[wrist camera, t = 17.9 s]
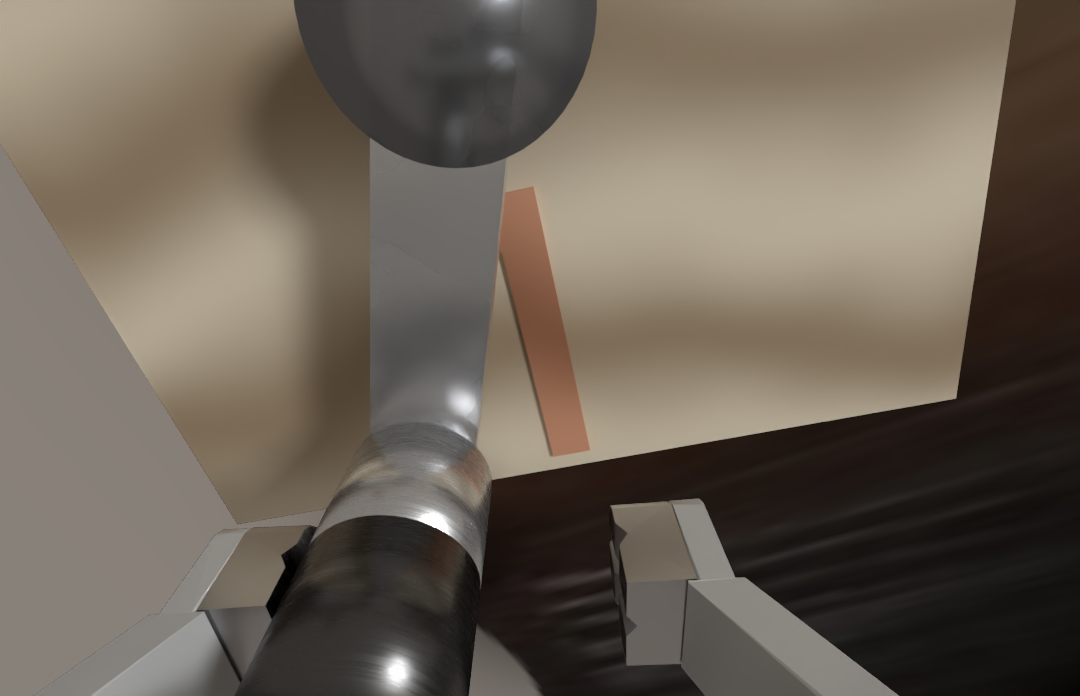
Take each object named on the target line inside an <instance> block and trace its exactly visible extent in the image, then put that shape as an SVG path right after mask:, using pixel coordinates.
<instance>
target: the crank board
mask: <svg viewBox="0 0 1080 696" xmlns="http://www.w3.org/2000/svg"><path fill="white" fill-rule="evenodd" d="M1015 3H1016V0H597V16H596V25H595V35H594V40H593V44H592V49H591V53H590V57H589V60H588V63H587V66H586V69H585V72H584V75H583V77H582V80H581V82H580V84H579V86H578V88H577V90H576V92H575V94H574V96H573V97H572V99H571V101H570V102H569V104H568V105H567V107H566V108H565V110H564V112H563V113H562V114H561V115H560V116H559V118H558V119H557V120H556V121H555V122H554V124H553V125H552V126H551V127H550V128H549V129H548V130H547V131H546V132H545V133H544V134H543V135H541V136H540V137H539V138H538V139H537V140H536V141H534V142H533V143H531V144H530V145H529V146H527V147H526V148H524V149H523V150H521V151H519V152H517V153H515V154H513V155H511V156H509V165H508V175H507V184H506V193H505V202H504V212H503V221H502V230H501V239H500V249H499V258H498V267H497V276H496V285H495V295H494V304H493V313H492V322H491V332H490V341H489V350H488V359H487V369H486V378H485V387H484V396H483V405H482V415H481V424H480V433H479V442H478V450H479V451H480V452H481V453H482V455H483V456H484V458H485V459H486V461H487V463H488V466H489V468H490V472H491V477H492V480H493V479H499V478H505V477H511V476H516V475H522V474H528V473H533V472H539V471H545V470H550V469H556V468H562V467H568V466H573V465H579V464H585V463H590V462H596V461H602V460H608V459H613V458H619V457H625V456H630V455H636V454H642V453H647V452H653V451H659V450H665V449H670V448H676V447H682V446H687V445H693V444H699V443H705V442H710V441H716V440H722V439H727V438H733V437H739V436H745V435H750V434H756V433H762V432H767V431H773V430H779V429H784V428H790V427H796V426H802V425H807V424H813V423H819V422H824V421H830V420H836V419H842V418H847V417H853V416H859V415H864V414H870V413H876V412H881V411H887V410H893V409H899V408H904V407H910V406H916V405H921V404H927V403H933V402H939V401H944V400H950V399H956V394H957V388H958V381H959V375H960V368H961V361H962V355H963V348H964V341H965V335H966V328H967V321H968V315H969V308H970V302H971V295H972V288H973V282H974V275H975V268H976V262H977V255H978V249H979V242H980V235H981V229H982V222H983V215H984V209H985V202H986V196H987V189H988V182H989V176H990V169H991V162H992V156H993V149H994V142H995V136H996V129H997V123H998V116H999V109H1000V103H1001V96H1002V89H1003V83H1004V76H1005V70H1006V63H1007V56H1008V50H1009V43H1010V36H1011V30H1012V23H1013V16H1014V10H1015ZM0 144H1V146H2V147H3V149H4V150H5V152H6V154H7V155H8V157H9V158H10V160H11V162H12V163H13V165H14V166H15V168H16V170H17V171H18V173H19V175H20V176H21V178H22V179H23V181H24V183H25V184H26V186H27V187H28V189H29V191H30V192H31V194H32V195H33V197H34V199H35V200H36V202H37V203H38V205H39V206H40V208H41V210H42V211H43V213H44V215H45V216H46V218H47V219H48V221H49V223H50V224H51V226H52V227H53V229H54V231H55V232H56V234H57V235H58V237H59V239H60V240H61V242H62V243H63V245H64V247H65V248H66V250H67V252H68V253H69V255H70V256H71V258H72V260H73V261H74V263H75V264H76V266H77V268H78V269H79V271H80V272H81V274H82V276H83V277H84V279H85V280H86V282H87V284H88V285H89V287H90V288H91V290H92V292H93V293H94V295H95V296H96V298H97V300H98V301H99V303H100V304H101V306H102V307H103V309H104V311H105V312H106V314H107V315H108V317H109V319H110V320H111V322H112V323H113V325H114V326H115V328H116V330H117V332H118V333H119V335H120V337H121V338H122V340H123V341H124V343H125V345H126V346H127V348H128V349H129V351H130V352H131V354H132V356H133V357H134V359H135V361H136V362H137V364H138V365H139V367H140V369H141V370H142V372H143V373H144V375H145V376H146V378H147V380H148V381H149V383H150V384H151V386H152V388H153V389H154V391H155V393H156V394H157V396H158V397H159V399H160V400H161V402H162V404H163V405H164V407H165V409H166V410H167V412H168V413H169V415H170V417H171V418H172V420H173V422H174V423H175V425H176V426H177V428H178V429H179V431H180V433H181V434H182V436H183V438H184V439H185V441H186V442H187V444H188V445H189V447H190V449H191V450H192V452H193V454H194V455H195V457H196V458H197V460H198V461H199V463H200V465H201V466H202V468H203V470H204V471H205V473H206V474H207V476H208V478H209V479H210V481H211V482H212V484H213V486H214V487H215V489H216V490H217V492H218V494H219V495H220V497H221V498H222V500H223V502H224V503H225V505H226V506H227V508H228V510H229V511H230V513H231V515H232V516H233V518H234V519H235V521H236V523H237V524H242V523H248V522H253V521H259V520H265V519H271V518H276V517H282V516H288V515H294V514H299V513H305V512H311V511H316V510H322V509H327V507H328V505H329V503H330V501H331V499H332V497H333V495H334V493H335V491H336V489H337V487H338V485H339V483H340V481H341V479H342V477H343V475H344V473H345V471H346V469H347V467H348V465H349V463H350V461H351V459H352V457H353V455H354V453H355V451H356V450H357V448H358V447H359V445H360V444H361V443H362V442H363V441H364V440H365V439H366V438H367V437H368V436H370V138H369V137H368V136H367V135H366V134H365V133H363V132H362V131H361V130H360V129H359V128H357V127H356V126H355V125H354V124H353V123H352V122H351V121H350V120H349V119H348V118H347V116H346V115H345V114H344V113H343V112H342V111H341V110H340V109H339V107H338V106H337V105H336V103H335V102H334V101H333V99H332V98H331V97H330V95H329V94H328V93H327V91H326V89H325V88H324V86H323V84H322V83H321V81H320V79H319V78H318V76H317V74H316V72H315V70H314V68H313V66H312V63H311V61H310V59H309V57H308V55H307V52H306V49H305V46H304V43H303V40H302V37H301V34H300V31H299V27H298V22H297V18H296V13H295V8H294V0H0Z"/></svg>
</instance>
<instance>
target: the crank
mask: <svg viewBox="0 0 1080 696" xmlns="http://www.w3.org/2000/svg"><path fill="white" fill-rule="evenodd" d="M294 8H295V13H296V18H297V22H298V27H299V31H300V34H301V37H302V40H303V43H304V46H305V49H306V52H307V55H308V57H309V59H310V61H311V63H312V66H313V68H314V70H315V72H316V74H317V76H318V78H319V79H320V81H321V83H322V84H323V86H324V88H325V89H326V91H327V93H328V94H329V95H330V97H331V98H332V99H333V101H334V102H335V103H336V105H337V106H338V107H339V109H340V110H341V111H342V112H343V113H344V114H345V115H346V116H347V118H348V119H349V120H350V121H351V122H352V123H353V124H354V125H355V126H356V127H357V128H359V129H360V130H361V131H362V132H363V133H365V134H366V135H367V136H368V137H369V138H370V436H368V437H367V438H366V439H365V440H364V441H363V442H362V443H361V444H360V445H359V447H358V448H357V450H356V451H355V453H354V455H353V457H352V459H351V461H350V463H349V465H348V467H347V469H346V471H345V473H344V475H343V477H342V479H341V481H340V483H339V485H338V487H337V489H336V491H335V493H334V495H333V497H332V499H331V501H330V503H329V505H328V507H327V509H326V511H325V514H324V516H323V517H322V519H321V521H320V523H319V526H318V528H317V530H316V532H315V534H314V536H313V538H312V540H311V542H310V544H309V546H308V548H307V550H306V552H305V554H304V556H303V558H302V560H301V562H300V564H299V566H298V568H297V570H296V572H295V574H294V576H293V578H292V580H291V582H290V584H289V586H288V588H287V590H286V592H285V594H284V596H283V598H282V600H281V602H280V604H279V606H278V608H277V610H276V612H275V614H274V616H273V618H272V620H271V622H270V624H269V627H268V629H267V631H266V633H265V635H264V637H263V639H262V641H261V643H260V645H259V647H258V649H257V651H256V653H255V655H254V657H253V659H252V661H251V663H250V665H249V667H248V669H247V671H246V673H245V675H244V677H243V679H242V681H241V683H240V685H239V687H238V689H237V691H236V693H235V695H234V696H468V695H469V687H470V678H471V669H472V659H473V651H474V642H475V634H476V625H477V616H478V607H479V598H480V589H481V580H482V571H483V562H484V553H485V544H486V535H487V526H488V517H489V508H490V500H491V491H492V477H491V472H490V468H489V466H488V463H487V461H486V459H485V458H484V456H483V455H482V453H481V452H480V451H479V450H478V442H479V433H480V424H481V415H482V405H483V396H484V387H485V378H486V369H487V359H488V350H489V341H490V332H491V322H492V313H493V304H494V295H495V285H496V276H497V267H498V258H499V249H500V239H501V230H502V221H503V212H504V202H505V193H506V184H507V175H508V165H509V156H511V155H513V154H515V153H517V152H519V151H521V150H523V149H524V148H526V147H527V146H529V145H530V144H531V143H533V142H534V141H536V140H537V139H538V138H539V137H540V136H541V135H543V134H544V133H545V132H546V131H547V130H548V129H549V128H550V127H551V126H552V125H553V124H554V122H555V121H556V120H557V119H558V118H559V116H560V115H561V114H562V113H563V112H564V110H565V108H566V107H567V105H568V104H569V102H570V101H571V99H572V97H573V96H574V94H575V92H576V90H577V88H578V86H579V84H580V82H581V80H582V77H583V75H584V72H585V69H586V66H587V63H588V60H589V57H590V53H591V49H592V44H593V40H594V35H595V25H596V16H597V0H294Z"/></svg>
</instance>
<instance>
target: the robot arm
mask: <svg viewBox="0 0 1080 696" xmlns="http://www.w3.org/2000/svg"><path fill="white" fill-rule="evenodd" d="M609 524H610V530H611V535H612V541H611V542H610V562H611V575H612V583H613V590H614V596H615V601H616V602H617V603H618V604H619V626H620V632H621V637H622V643H623V649H624V654H625V660H626V665H658V664H681V667H682V668H683V669H684V671H685V672H686V673H687V674H688V675H689V677H690V678H691V679H692V680H693V681H694V683H695V684H696V685H697V686H698V687H699V689H700V690H701V691H702V692H703V693H704V695H705V696H898V695H897V694H896V693H895V692H893V691H892V690H891V689H889V688H888V687H887V686H885V685H884V684H883V683H882V682H880V681H879V680H878V679H876V678H875V677H874V676H872V675H871V674H870V673H869V672H867V671H866V670H865V669H863V668H862V667H861V666H859V665H858V664H857V663H856V662H854V661H853V660H852V659H850V658H849V657H848V656H846V655H845V654H844V653H843V652H841V651H840V650H839V649H837V648H836V647H835V646H833V645H832V644H831V643H830V642H828V641H827V640H826V639H824V638H823V637H822V636H820V635H819V634H818V633H817V632H815V631H814V630H813V629H811V628H810V627H809V626H807V625H806V624H805V623H804V622H802V621H801V620H800V619H798V618H797V617H796V616H794V615H793V614H792V613H790V612H789V611H788V610H787V609H785V608H784V607H783V606H781V605H780V604H779V603H777V602H776V601H775V600H774V599H772V598H771V597H770V596H768V595H767V594H766V593H764V592H763V591H762V590H761V589H759V588H758V587H757V586H755V585H754V584H753V583H751V582H750V581H749V580H748V579H746V578H745V577H744V578H735V576H734V574H733V571H732V569H731V567H730V564H729V562H728V560H727V557H726V555H725V553H724V550H723V548H722V546H721V543H720V541H719V539H718V536H717V534H716V531H715V529H714V527H713V524H712V522H711V520H710V517H709V515H708V513H707V510H706V508H705V506H704V503H703V502H702V501H701V500H700V499H688V500H675V501H669V502H667V501H666V502H652V503H639V504H625V505H612V506H610V511H609ZM316 530H317V527H314V526H310V525H308V526H307V525H305V526H282V527H281V526H280V527H256V528H251V529H224V530H222V531H221V532H219V533H218V534H216V535H215V536H214V537H213V538H212V540H211V541H210V543H209V544H208V545H207V547H206V548H205V550H204V551H203V553H202V554H201V555H200V557H199V558H198V560H197V561H196V562H195V564H194V565H193V567H192V568H191V570H190V571H189V572H188V574H187V575H186V577H185V578H184V579H183V581H182V582H181V584H180V585H179V587H178V588H177V590H176V591H175V592H174V594H173V595H172V597H171V598H170V599H169V601H168V602H167V604H166V605H165V606H164V608H163V609H162V611H161V612H160V614H154V615H148V616H147V617H146V618H144V619H143V620H141V621H140V622H138V623H137V624H136V625H134V626H133V627H131V628H130V629H128V630H127V631H126V632H124V633H123V634H121V635H120V636H118V637H117V638H115V639H114V640H112V641H111V642H110V643H108V644H107V645H105V646H104V647H102V648H101V649H100V650H98V651H97V652H95V653H94V654H92V655H91V656H89V657H88V658H87V659H85V660H84V661H82V662H81V663H79V664H78V665H77V666H75V667H74V668H72V669H71V670H70V671H68V672H66V673H65V674H64V675H62V676H61V677H59V678H58V679H57V680H56V681H54V682H52V683H51V684H49V685H48V686H46V687H45V688H44V689H42V690H41V691H39V692H38V693H37V694H35V695H34V696H234V695H235V693H236V691H237V689H238V687H239V685H240V683H241V681H242V679H243V677H244V675H245V673H246V671H247V669H248V667H249V665H250V663H251V661H252V659H253V657H254V655H255V653H256V651H257V649H258V647H259V645H260V643H261V641H262V639H263V637H264V635H265V633H266V631H267V629H268V627H269V624H270V622H271V620H272V618H273V616H274V614H275V612H276V610H277V608H278V606H279V604H280V602H281V600H282V598H283V596H284V594H285V592H286V590H287V588H288V586H289V584H290V582H291V580H292V578H293V576H294V574H295V572H296V570H297V568H298V566H299V564H300V562H301V560H302V558H303V556H304V554H305V552H306V550H307V548H308V546H309V544H310V542H311V540H312V538H313V536H314V534H315V532H316Z"/></svg>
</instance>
